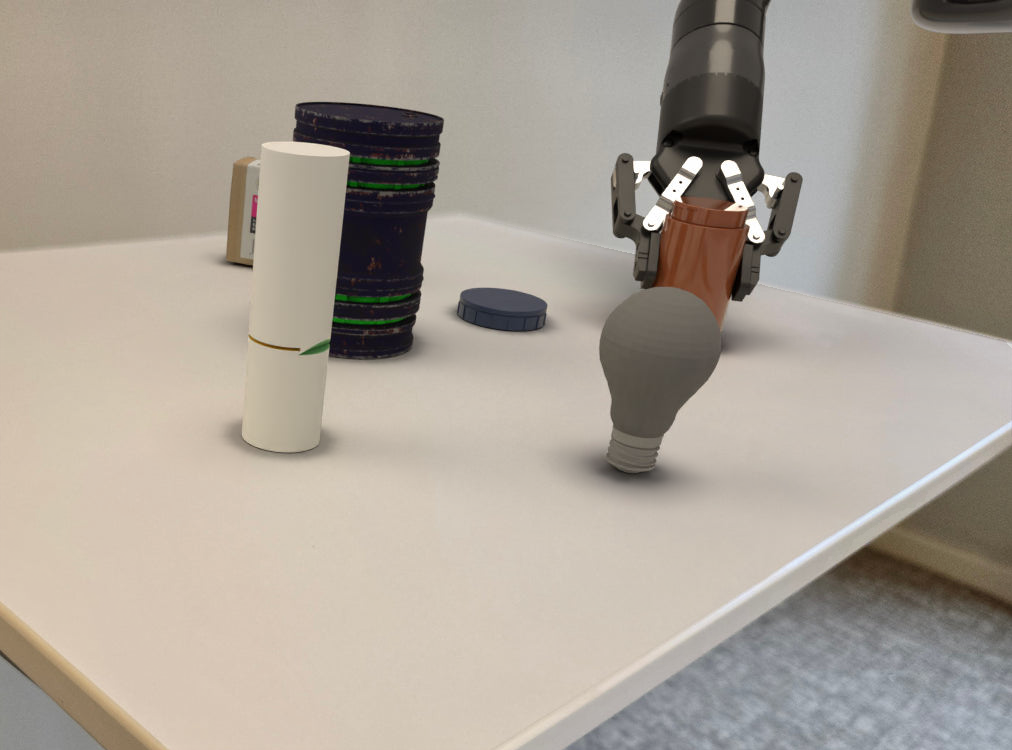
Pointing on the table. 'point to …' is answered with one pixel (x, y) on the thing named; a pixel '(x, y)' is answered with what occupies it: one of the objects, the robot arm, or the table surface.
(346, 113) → the storage jar
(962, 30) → the robot arm
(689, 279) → the jar
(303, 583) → the table surface
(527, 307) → the jar lid
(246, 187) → the ink box
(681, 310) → the light bulb
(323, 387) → the tube
